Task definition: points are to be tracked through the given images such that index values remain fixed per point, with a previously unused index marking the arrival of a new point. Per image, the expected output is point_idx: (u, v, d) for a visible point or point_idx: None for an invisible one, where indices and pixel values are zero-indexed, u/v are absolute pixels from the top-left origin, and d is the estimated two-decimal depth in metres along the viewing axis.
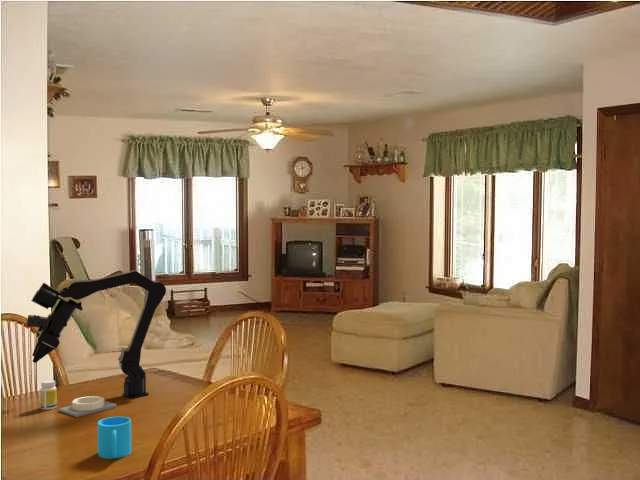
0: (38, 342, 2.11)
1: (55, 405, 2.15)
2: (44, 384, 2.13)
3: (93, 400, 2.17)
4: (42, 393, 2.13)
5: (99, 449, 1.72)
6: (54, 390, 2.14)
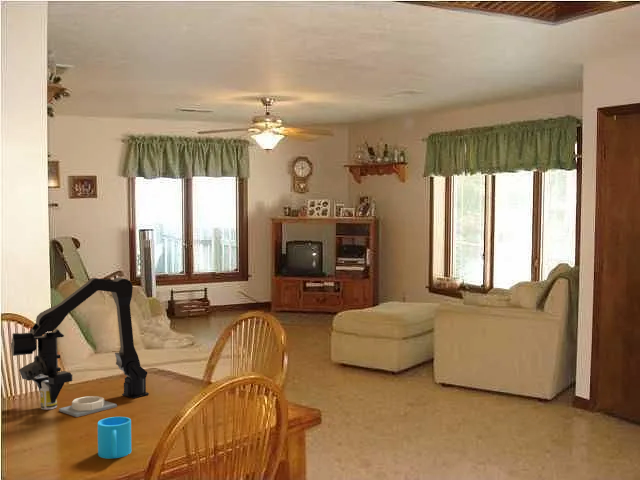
0: (50, 385, 2.10)
1: (55, 405, 2.15)
2: (44, 384, 2.13)
3: (93, 400, 2.17)
4: (42, 393, 2.13)
5: (99, 449, 1.72)
6: None
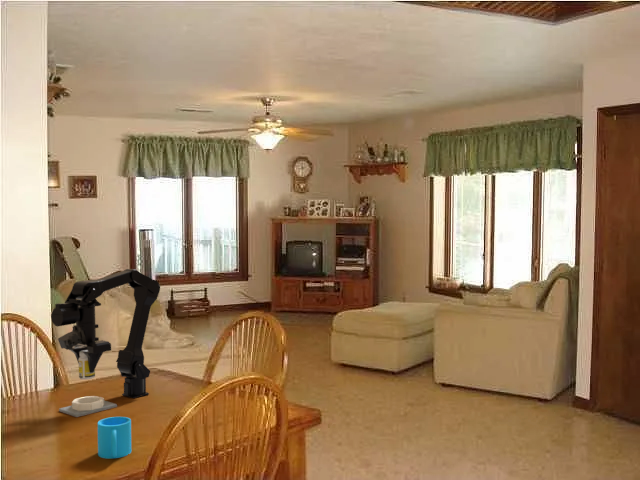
0: (88, 354, 2.08)
1: (93, 375, 2.13)
2: (82, 354, 2.11)
3: (93, 400, 2.17)
4: (80, 363, 2.11)
5: (99, 449, 1.72)
6: None
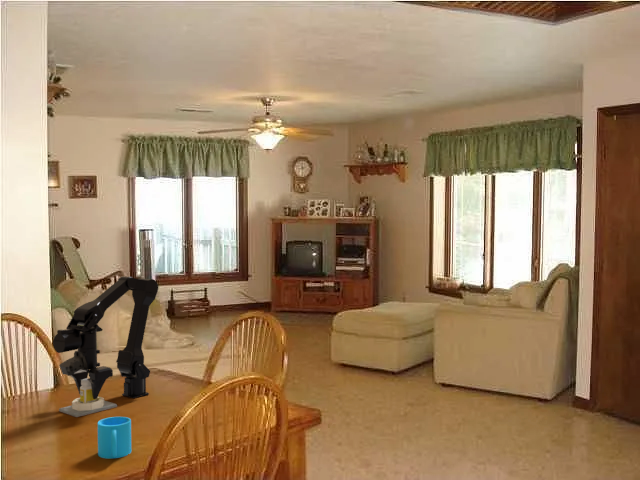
0: (92, 381, 2.08)
1: None
2: (84, 382, 2.12)
3: None
4: (82, 391, 2.12)
5: (99, 449, 1.72)
6: None
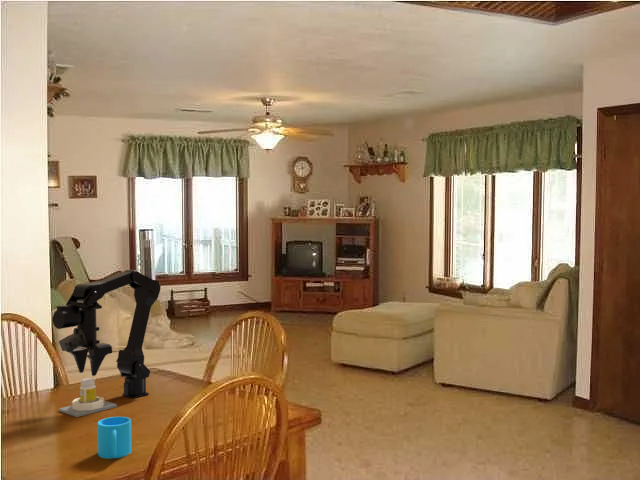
0: (91, 357, 2.08)
1: None
2: (84, 382, 2.12)
3: None
4: (82, 391, 2.12)
5: (99, 449, 1.72)
6: (94, 388, 2.13)
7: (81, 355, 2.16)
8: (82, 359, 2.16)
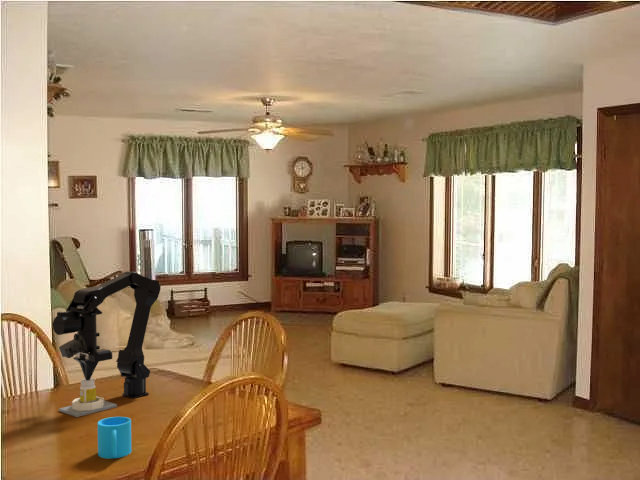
0: (85, 362, 2.10)
1: None
2: (84, 382, 2.12)
3: None
4: (82, 391, 2.12)
5: (99, 449, 1.72)
6: (94, 388, 2.13)
7: None
8: None
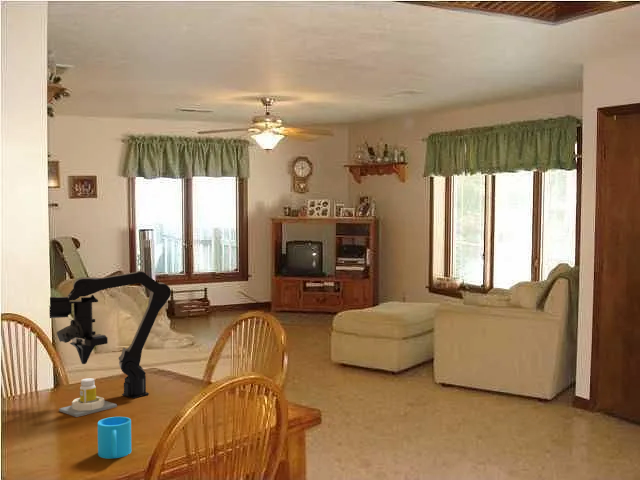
0: (82, 346, 2.20)
1: None
2: (84, 382, 2.12)
3: None
4: (82, 391, 2.12)
5: (99, 449, 1.72)
6: (94, 388, 2.13)
7: None
8: None
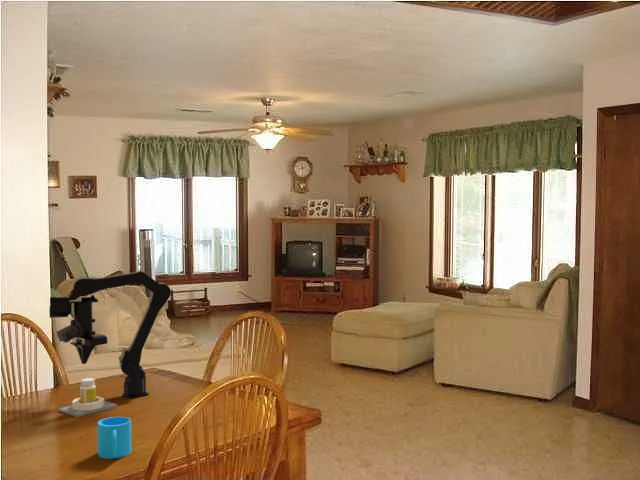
0: (81, 346, 2.20)
1: None
2: (84, 382, 2.12)
3: None
4: (82, 391, 2.12)
5: (99, 449, 1.72)
6: (94, 388, 2.13)
7: None
8: None
